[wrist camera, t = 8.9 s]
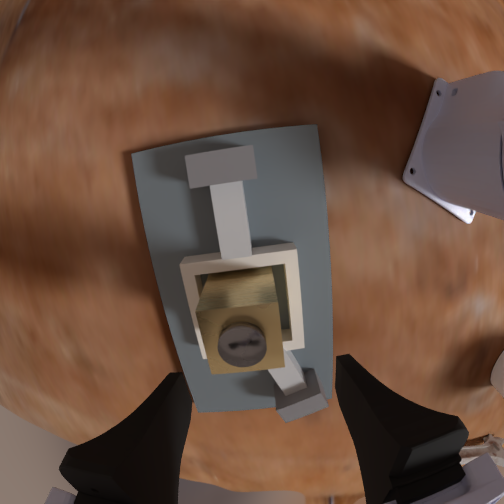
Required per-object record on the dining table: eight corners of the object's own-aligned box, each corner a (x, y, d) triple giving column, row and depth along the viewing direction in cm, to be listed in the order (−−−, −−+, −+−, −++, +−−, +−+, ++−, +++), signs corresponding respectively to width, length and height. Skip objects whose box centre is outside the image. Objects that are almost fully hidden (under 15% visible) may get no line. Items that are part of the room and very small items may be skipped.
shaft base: (137, 153, 19) (111, 152, 15) (313, 126, 18) (328, 117, 14) (199, 403, 25) (193, 436, 21) (329, 389, 25) (338, 422, 21)
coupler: (270, 261, 20) (279, 307, 13) (276, 314, 21) (286, 374, 14) (210, 269, 20) (193, 317, 14) (221, 321, 21) (210, 381, 15)
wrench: (389, 431, 31) (505, 431, 30) (382, 439, 32) (500, 437, 31) (402, 475, 24) (521, 458, 23) (394, 483, 24) (515, 464, 23)
